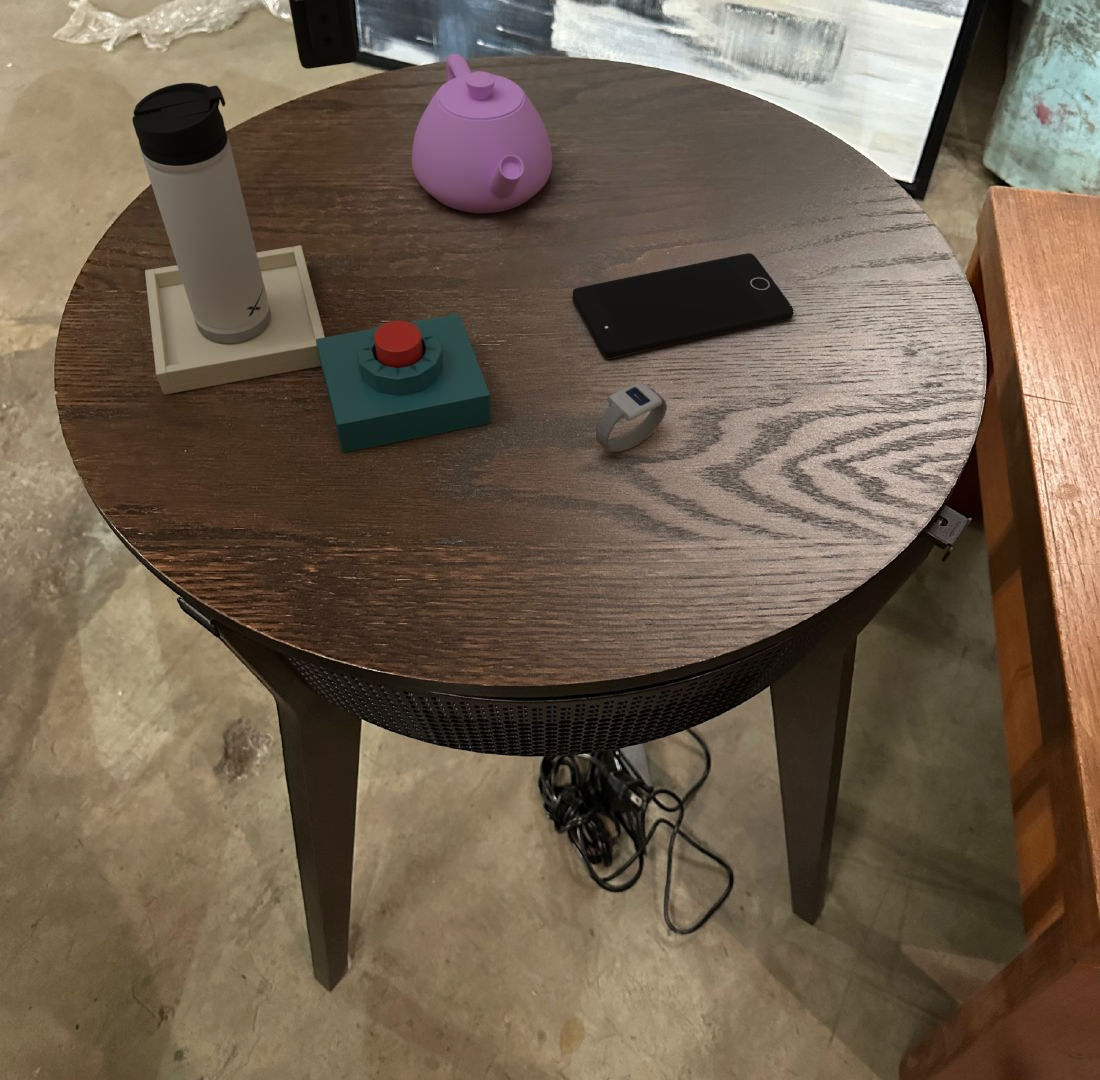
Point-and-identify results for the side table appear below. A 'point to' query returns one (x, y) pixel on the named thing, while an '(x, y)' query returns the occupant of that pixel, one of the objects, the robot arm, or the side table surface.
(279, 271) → the tray
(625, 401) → the wristwatch
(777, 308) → the cell phone
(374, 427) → the block
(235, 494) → the side table surface
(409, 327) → the button
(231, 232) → the travel mug
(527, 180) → the teapot
